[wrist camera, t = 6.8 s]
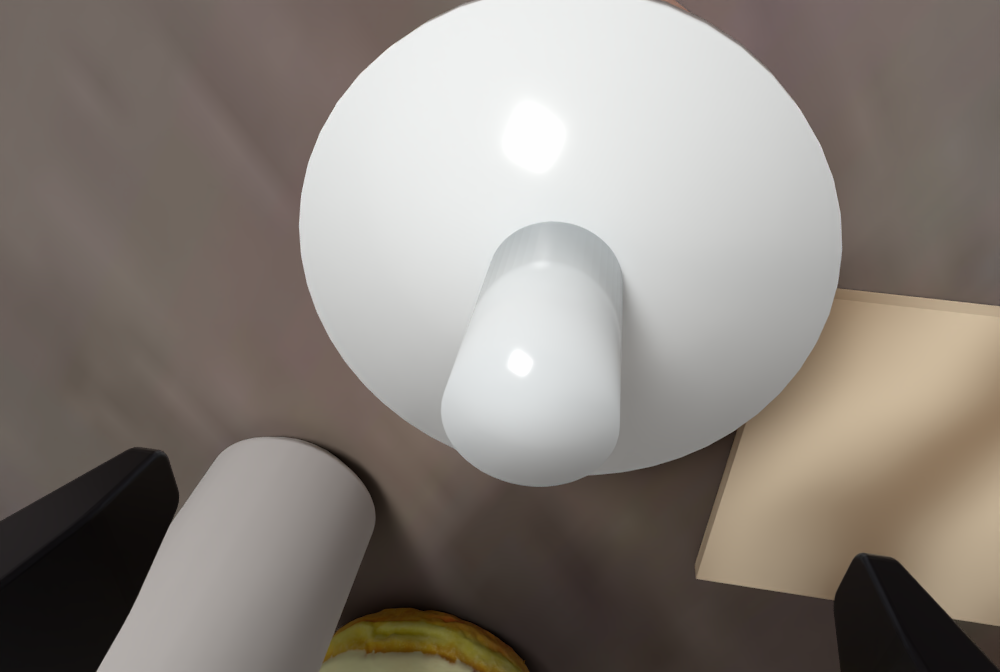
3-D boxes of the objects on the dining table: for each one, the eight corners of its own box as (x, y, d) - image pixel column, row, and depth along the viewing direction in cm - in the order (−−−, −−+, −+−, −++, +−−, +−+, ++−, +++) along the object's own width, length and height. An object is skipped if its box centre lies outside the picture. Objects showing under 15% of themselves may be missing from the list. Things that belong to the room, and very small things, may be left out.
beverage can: (317, 401, 24) (99, 772, 14) (414, 523, 27) (288, 903, 17) (187, 448, 26) (-74, 793, 17) (289, 556, 29) (115, 905, 19)
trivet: (1272, 336, 18) (1291, 350, 17) (1043, 618, 24) (1051, 634, 24) (783, 282, 19) (787, 293, 18) (694, 565, 26) (695, 578, 25)
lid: (920, 6, 11) (1090, 90, 7) (755, 480, 18) (794, 675, 13) (280, -36, 13) (101, 15, 8) (337, 422, 19) (251, 586, 15)
